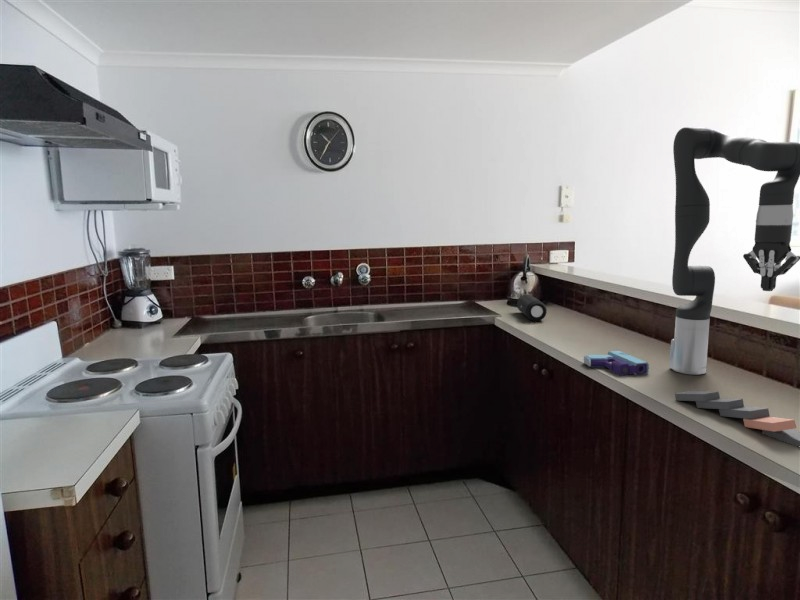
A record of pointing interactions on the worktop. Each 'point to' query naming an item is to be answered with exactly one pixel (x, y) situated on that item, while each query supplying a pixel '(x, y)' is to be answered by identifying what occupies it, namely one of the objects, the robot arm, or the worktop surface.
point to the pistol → (618, 363)
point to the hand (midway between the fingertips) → (767, 290)
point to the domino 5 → (785, 435)
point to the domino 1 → (697, 396)
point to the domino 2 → (721, 404)
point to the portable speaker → (531, 307)
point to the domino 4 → (770, 423)
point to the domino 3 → (745, 412)
